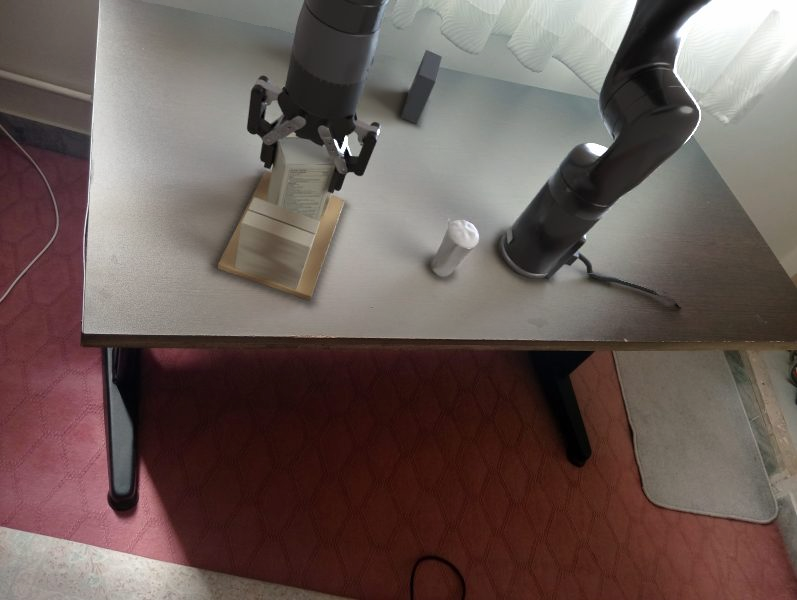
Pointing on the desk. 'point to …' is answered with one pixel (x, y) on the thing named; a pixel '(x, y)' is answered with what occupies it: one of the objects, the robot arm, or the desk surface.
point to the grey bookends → (421, 86)
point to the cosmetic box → (300, 176)
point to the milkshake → (454, 247)
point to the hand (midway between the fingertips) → (301, 176)
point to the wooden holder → (281, 243)
